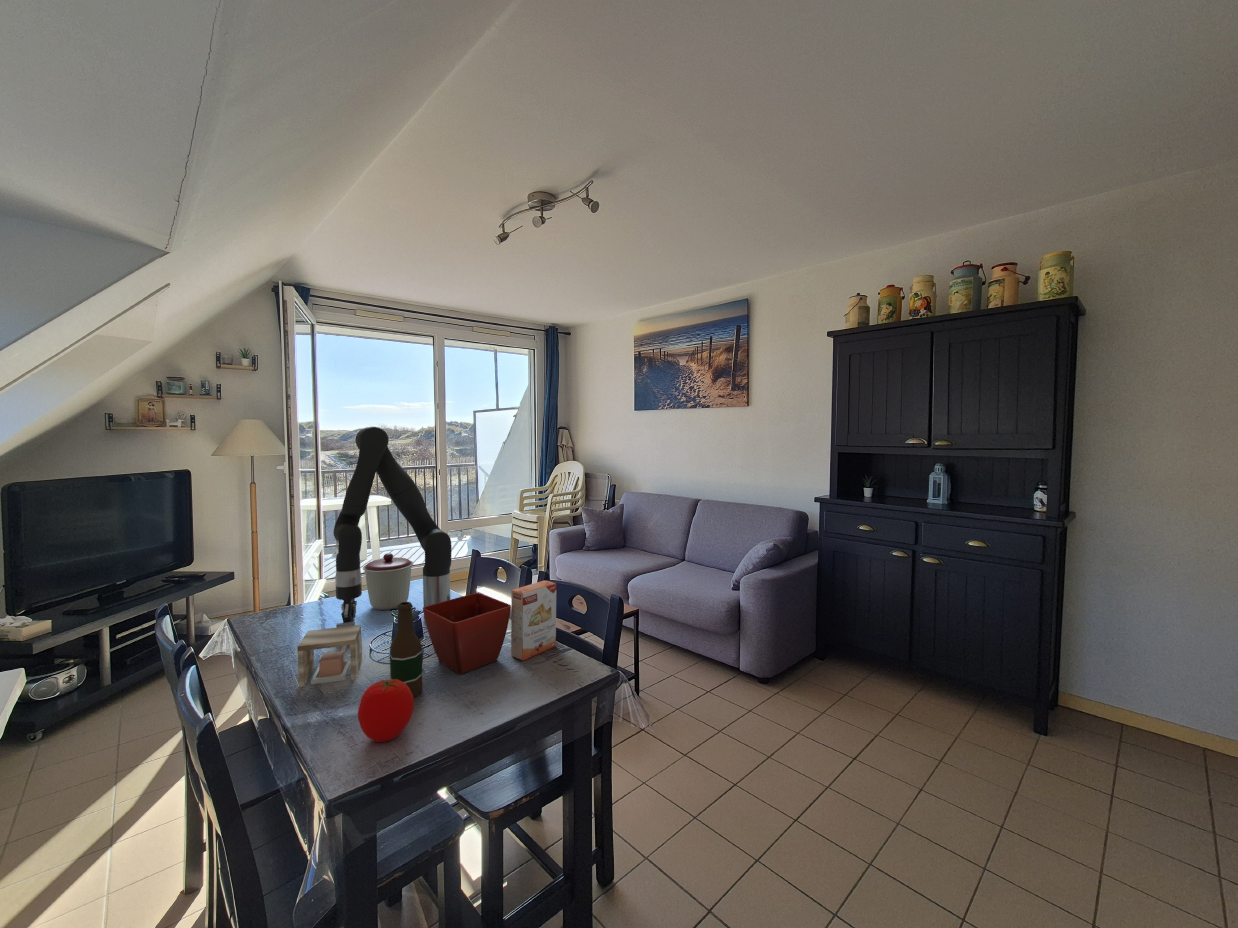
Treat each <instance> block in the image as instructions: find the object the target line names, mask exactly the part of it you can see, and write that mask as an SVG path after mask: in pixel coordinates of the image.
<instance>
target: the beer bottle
mask: <svg viewBox="0 0 1238 928" xmlns="http://www.w3.org/2000/svg"><path fill="white" fill-rule="evenodd" d="M412 608H413V604H412V602H411V601H407V602H402V603H400V604H398V606H397V608H396V609H397V610H398V611H397V629H396V634H395V636H394V638H393V639H392V640H391V643H390V647H389V672H390V676H389V677H390V678H389V679H397V680H400V681H402V682H404V683H405V684H406V685H407V686H408V687H409V688H410V690H411V692H412V695H413V698H416V697H417V696H418V695H419V694H421V692H422V691H423V659H422V658H423V651H422V650H423V649H422V643H421V640H420V639H419V637H418V635H417V634H416V633H415V629H414V622H413V613H412V610H413V609H412Z"/></svg>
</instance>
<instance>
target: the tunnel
mask: <svg viewBox="0 0 1238 928" xmlns="http://www.w3.org/2000/svg"><path fill="white" fill-rule="evenodd" d="M362 643H363V642H362V625H361V624H355V626H346V627H337V628H336V627H329V628H319V629H313V630H307V632H306V633H305V635H304V637H302V639H301V640H300V642H299V643H298V645H297V646H296V647H297V671H298V673H297V674H298V675H297V676H298V688H302V687H303V688H304V687H305V686H306V684H307V682H308V680H309V679H310V677H311V675H312V673H313V671H314V669H315V650H322V649H331V648H338V647H343V646H347V647H348V646H349V649H350V650H349V653H350V654H349V655H350V658H349V660H350V661H351V666H350V680H355V679H357V677H358V674H359V672H360V668H361V666H362V663H363V647H362V646H363V644H362Z"/></svg>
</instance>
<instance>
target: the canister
mask: <svg viewBox="0 0 1238 928" xmlns="http://www.w3.org/2000/svg"><path fill="white" fill-rule="evenodd" d="M413 565H414V562H413V560H410V559H408V558H406V557H394V555H393V553H390V552H388V553H384V554H383V557H382V558H378V559H375V560H374V559H373V560H372V561H369V562H368V563H366V564H365V565H363V566H362V570H363V571H364V574H365V575H364V576H365V581H366V582H365V583H366V589H367V595H368V600H369V604H370V606H371V607H372V608H373V609H374V610H378V611H387V610H388V611H389V610H394V609H395V610H396V609H397V606H398V604H400V603H402V602H408V600H409V595H410V587H411V578H412V566H413Z"/></svg>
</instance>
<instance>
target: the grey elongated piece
mask: <svg viewBox="0 0 1238 928" xmlns="http://www.w3.org/2000/svg"><path fill="white" fill-rule="evenodd" d="M355 625H356V622H355V621H354V622H346V623H343V622H340V623H339V622H338V623H336V625H335V628H337V627H346V626H355ZM347 647H348V646H341V650H340V651H344V653H345V651H346V649H347ZM350 670H351V661H350V659H344V669H343V672H342V674H341V675H334V676H327V677H320V669H319V665H318V666H317V668H316V669H315V671H314V673H313V675H312V677H311V679H310V684H311V685H316V684H323V683H331V682H338V681H346V679H347V677H348V673H349V671H350Z"/></svg>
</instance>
